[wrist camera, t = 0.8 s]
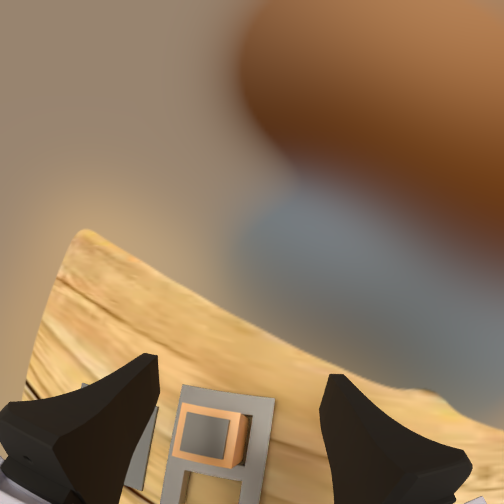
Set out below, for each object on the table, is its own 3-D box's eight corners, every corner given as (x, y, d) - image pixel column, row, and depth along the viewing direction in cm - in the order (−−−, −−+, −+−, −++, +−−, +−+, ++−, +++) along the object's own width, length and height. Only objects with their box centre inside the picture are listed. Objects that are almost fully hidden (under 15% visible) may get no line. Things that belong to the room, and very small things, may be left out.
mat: (142, 490, 19) (141, 490, 19) (67, 457, 21) (66, 457, 20) (158, 407, 25) (157, 406, 24) (83, 383, 26) (82, 382, 26)
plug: (242, 460, 21) (230, 469, 15) (198, 452, 22) (169, 456, 15) (249, 419, 24) (239, 412, 17) (205, 412, 24) (180, 401, 18)
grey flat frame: (252, 538, 17) (250, 545, 15) (164, 519, 18) (156, 524, 16) (275, 401, 24) (275, 398, 23) (188, 388, 26) (182, 384, 24)
